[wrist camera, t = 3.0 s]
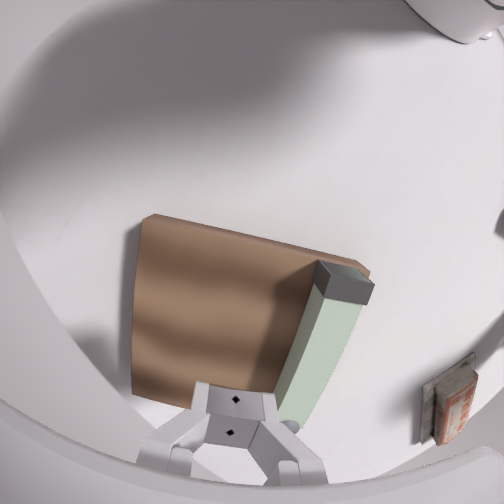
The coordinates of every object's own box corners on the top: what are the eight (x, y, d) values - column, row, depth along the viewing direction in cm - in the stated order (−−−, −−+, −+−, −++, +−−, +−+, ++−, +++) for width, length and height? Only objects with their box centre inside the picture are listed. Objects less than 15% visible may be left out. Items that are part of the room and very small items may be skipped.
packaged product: (435, 405, 25) (490, 366, 24) (419, 384, 30) (471, 349, 29) (428, 458, 29) (473, 428, 29) (418, 440, 34) (461, 413, 33)
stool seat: (154, 213, 22) (142, 219, 19) (356, 260, 24) (370, 271, 21) (139, 376, 27) (131, 394, 24) (296, 405, 28) (300, 424, 25)
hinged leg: (294, 413, 25) (299, 437, 22) (262, 410, 25) (264, 435, 21) (357, 268, 21) (374, 284, 18) (317, 259, 21) (331, 274, 17)
